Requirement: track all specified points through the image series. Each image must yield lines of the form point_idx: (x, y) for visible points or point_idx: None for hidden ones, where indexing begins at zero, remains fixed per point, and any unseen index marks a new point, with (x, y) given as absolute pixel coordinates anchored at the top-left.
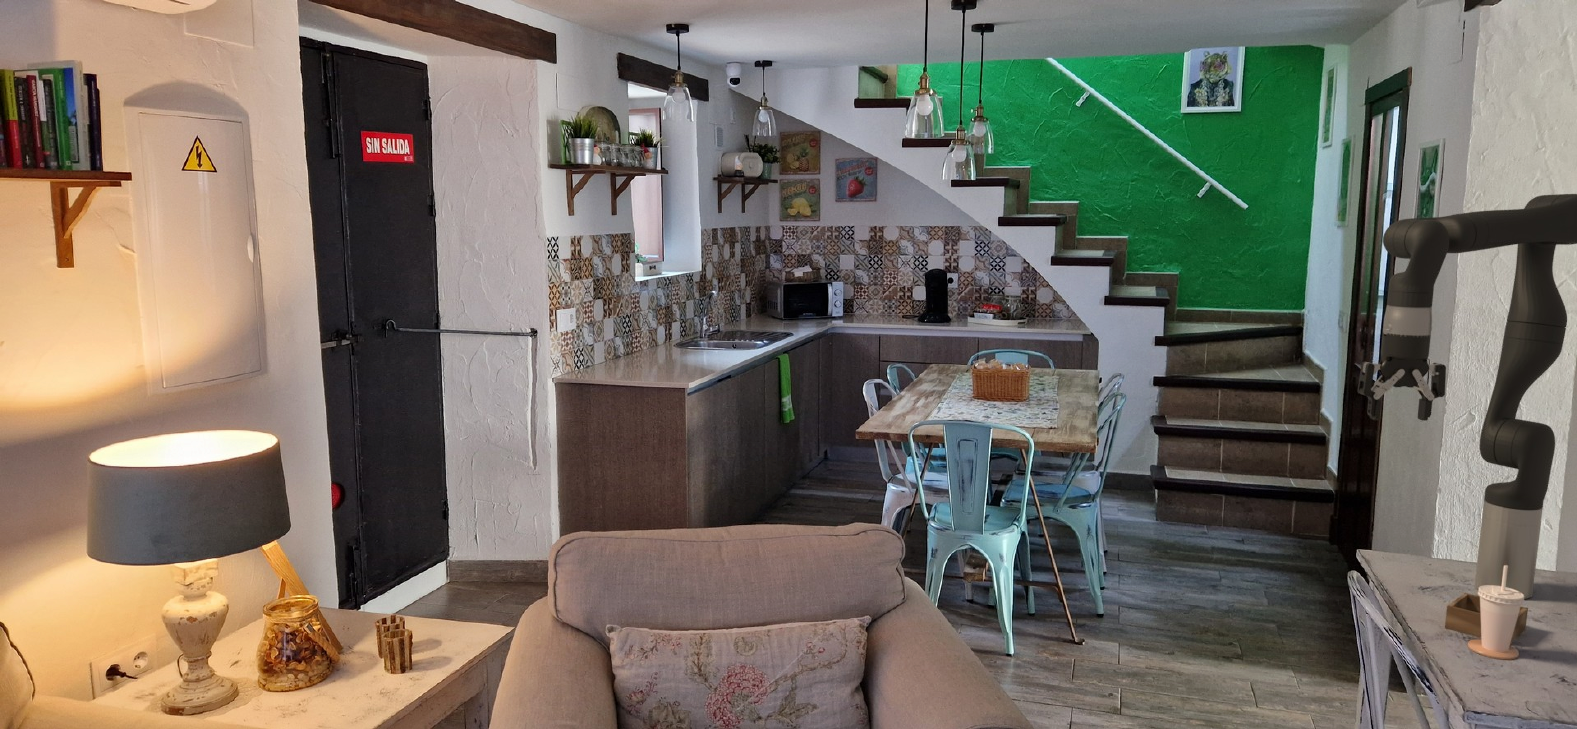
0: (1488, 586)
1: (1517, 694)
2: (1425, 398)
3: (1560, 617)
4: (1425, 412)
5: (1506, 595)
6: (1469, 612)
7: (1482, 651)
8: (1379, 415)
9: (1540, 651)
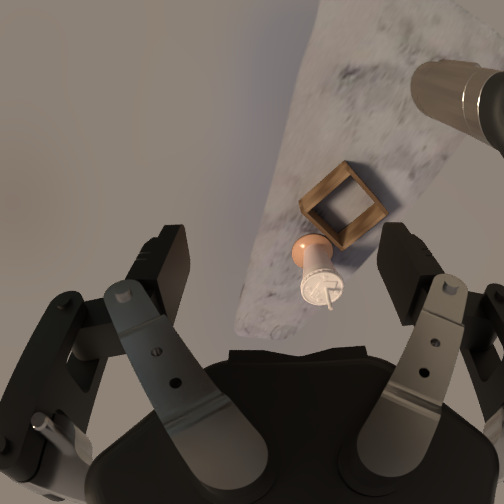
0: (320, 275)
1: (277, 318)
2: (414, 322)
3: (439, 167)
4: (388, 287)
5: (321, 296)
6: (316, 226)
7: (296, 261)
8: (186, 278)
9: (356, 248)
